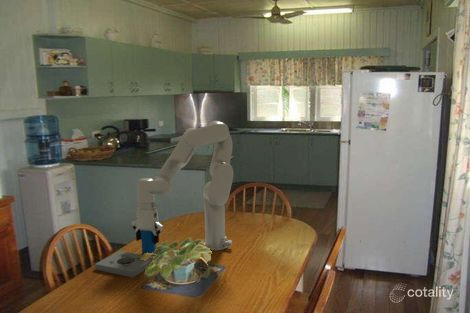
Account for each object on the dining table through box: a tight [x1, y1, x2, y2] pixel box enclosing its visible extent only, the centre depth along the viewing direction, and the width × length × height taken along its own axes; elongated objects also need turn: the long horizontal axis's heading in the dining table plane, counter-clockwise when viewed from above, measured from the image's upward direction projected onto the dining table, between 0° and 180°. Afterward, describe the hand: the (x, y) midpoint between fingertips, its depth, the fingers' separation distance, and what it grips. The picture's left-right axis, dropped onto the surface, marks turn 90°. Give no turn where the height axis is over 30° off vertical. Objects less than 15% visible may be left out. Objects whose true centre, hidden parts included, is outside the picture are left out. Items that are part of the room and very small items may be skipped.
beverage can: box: [140, 230, 157, 254], centre depth 194 cm, size 6×6×12 cm
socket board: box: [94, 250, 153, 279], centre depth 181 cm, size 20×16×2 cm
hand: (147, 241), depth 194 cm, fingers open, 9 cm apart
